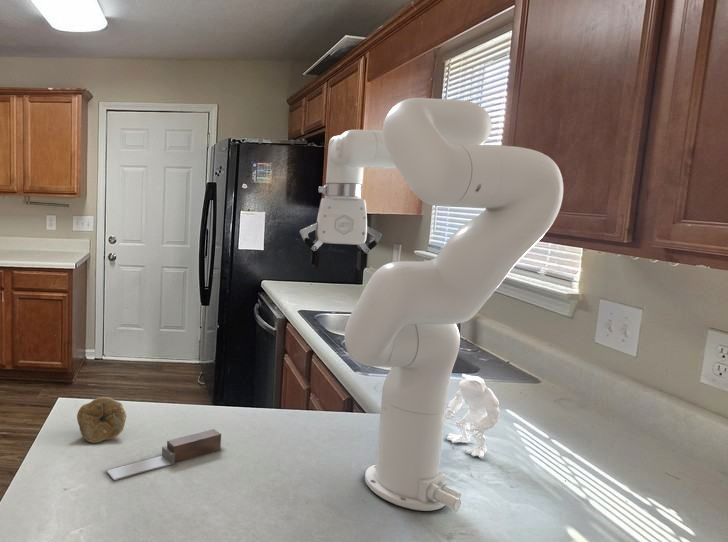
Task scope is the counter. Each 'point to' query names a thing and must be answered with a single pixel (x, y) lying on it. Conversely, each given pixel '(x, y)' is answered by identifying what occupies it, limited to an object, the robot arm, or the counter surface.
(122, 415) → the fossil
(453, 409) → the figurine
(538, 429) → the counter surface
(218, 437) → the knife
